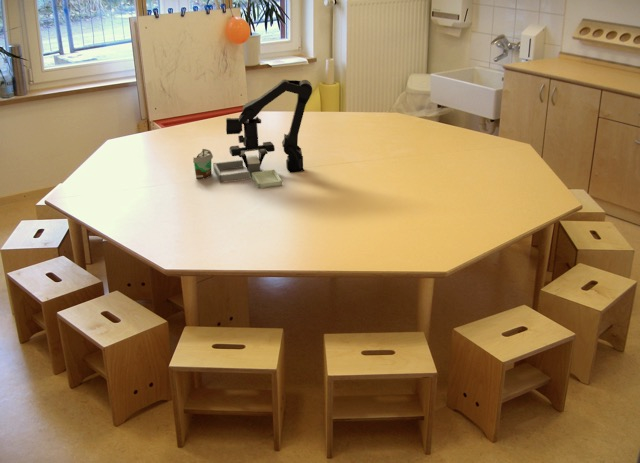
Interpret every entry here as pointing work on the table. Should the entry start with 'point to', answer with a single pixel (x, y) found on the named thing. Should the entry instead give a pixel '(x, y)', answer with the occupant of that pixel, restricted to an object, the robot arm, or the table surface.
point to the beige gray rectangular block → (253, 163)
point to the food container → (203, 164)
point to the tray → (266, 179)
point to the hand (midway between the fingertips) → (253, 167)
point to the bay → (233, 175)
